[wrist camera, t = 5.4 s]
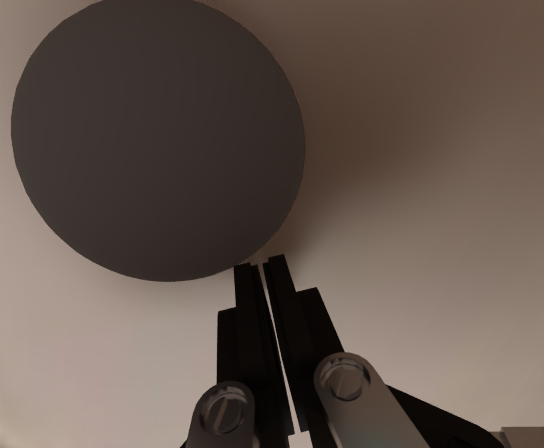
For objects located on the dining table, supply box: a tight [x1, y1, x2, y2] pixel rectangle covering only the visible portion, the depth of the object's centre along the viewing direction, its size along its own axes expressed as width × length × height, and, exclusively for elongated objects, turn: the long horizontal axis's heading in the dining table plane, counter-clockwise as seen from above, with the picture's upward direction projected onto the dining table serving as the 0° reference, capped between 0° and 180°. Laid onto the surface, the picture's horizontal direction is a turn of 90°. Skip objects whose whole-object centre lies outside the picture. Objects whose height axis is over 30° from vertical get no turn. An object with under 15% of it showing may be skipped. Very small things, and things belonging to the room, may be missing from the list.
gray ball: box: [11, 0, 305, 282], centre depth 7 cm, size 6×6×6 cm
